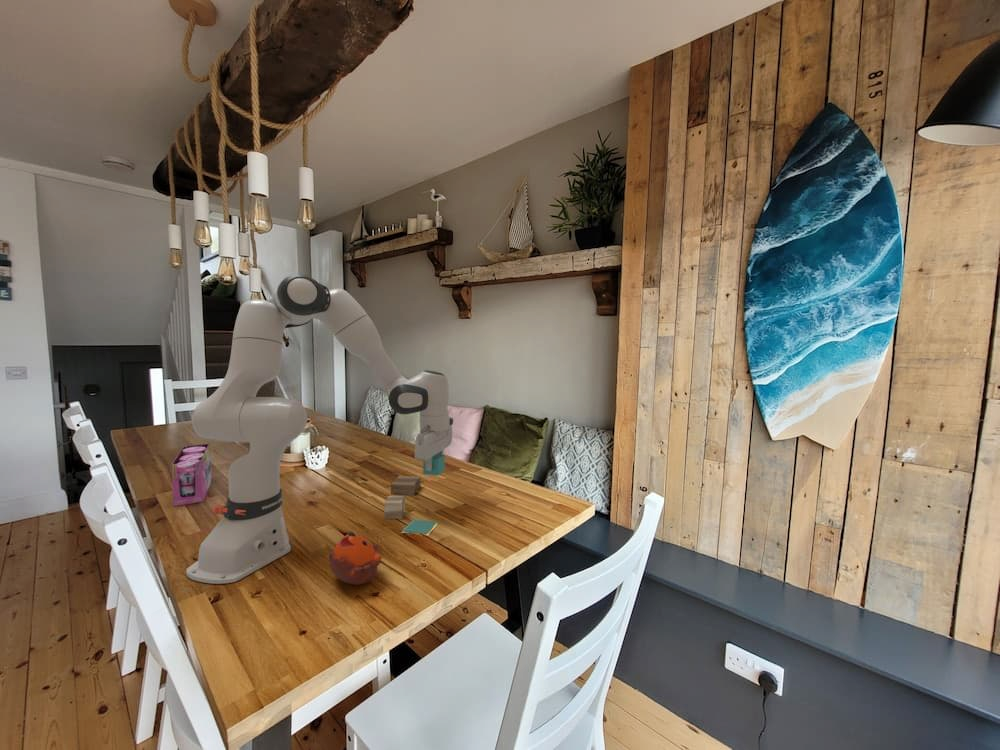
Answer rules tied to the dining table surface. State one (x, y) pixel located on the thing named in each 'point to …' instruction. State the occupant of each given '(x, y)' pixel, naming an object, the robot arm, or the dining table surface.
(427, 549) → the dining table surface
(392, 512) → the maple cube
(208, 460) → the gum box
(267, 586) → the dining table surface
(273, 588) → the dining table surface
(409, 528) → the swatch tile
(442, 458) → the teal cube
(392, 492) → the walnut block
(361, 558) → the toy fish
